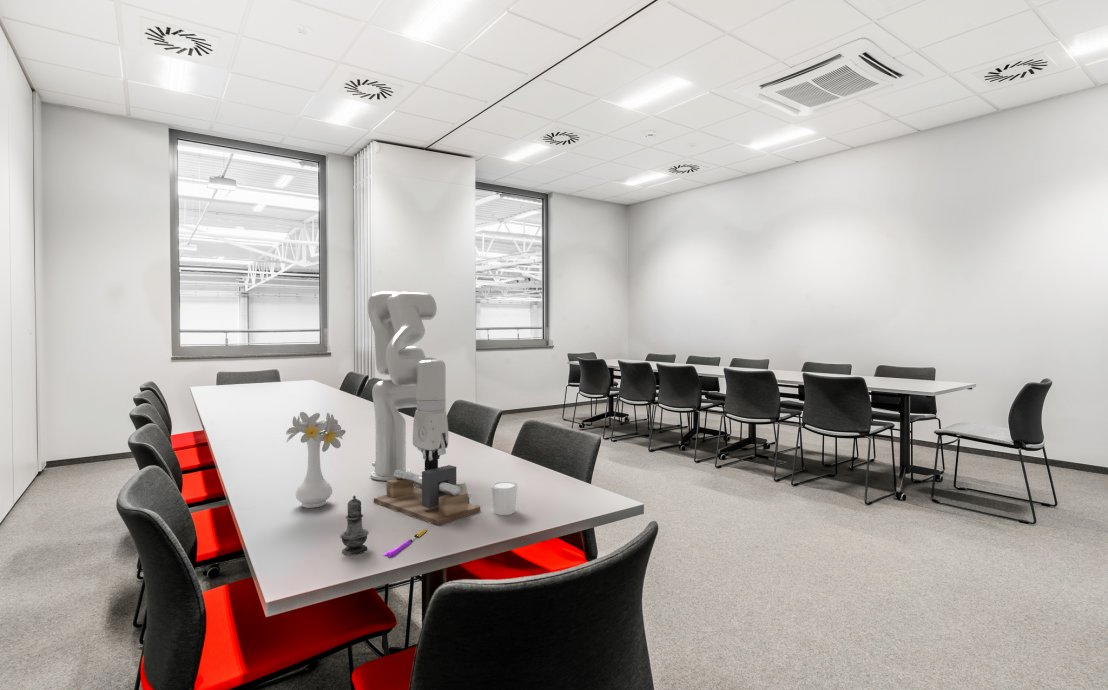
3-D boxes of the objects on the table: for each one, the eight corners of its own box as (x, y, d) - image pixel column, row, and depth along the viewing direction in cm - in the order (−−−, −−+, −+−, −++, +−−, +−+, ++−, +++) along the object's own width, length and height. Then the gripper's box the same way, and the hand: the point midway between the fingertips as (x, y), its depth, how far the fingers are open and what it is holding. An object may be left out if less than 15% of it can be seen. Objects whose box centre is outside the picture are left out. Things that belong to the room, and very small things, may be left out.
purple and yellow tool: (392, 558, 114) (428, 532, 130) (390, 553, 114) (427, 527, 130) (381, 560, 115) (418, 533, 130) (379, 554, 115) (417, 528, 130)
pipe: (393, 479, 155) (393, 470, 154) (401, 477, 157) (401, 468, 157) (453, 497, 138) (453, 487, 138) (461, 495, 140) (461, 484, 140)
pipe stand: (373, 502, 151) (373, 482, 151) (415, 491, 162) (415, 472, 162) (437, 525, 133) (437, 503, 133) (480, 511, 144) (480, 490, 144)
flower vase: (321, 517, 139) (320, 419, 138) (273, 506, 147) (272, 414, 146) (360, 502, 150) (359, 412, 150) (313, 493, 159) (313, 408, 158)
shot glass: (510, 517, 139) (510, 490, 139) (486, 513, 142) (486, 487, 142) (521, 509, 146) (521, 483, 146) (498, 506, 148) (498, 480, 148)
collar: (421, 506, 141) (421, 471, 141) (449, 497, 148) (449, 465, 148) (429, 508, 139) (429, 473, 139) (456, 500, 146) (456, 466, 146)
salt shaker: (352, 557, 114) (351, 501, 114) (334, 551, 117) (333, 496, 117) (374, 548, 119) (374, 494, 119) (357, 542, 122) (356, 489, 122)
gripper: (402, 404, 147) (402, 472, 147) (437, 410, 138) (438, 482, 138) (425, 402, 153) (425, 467, 153) (460, 407, 143) (460, 476, 144)
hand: (431, 474), depth 146 cm, fingers closed
